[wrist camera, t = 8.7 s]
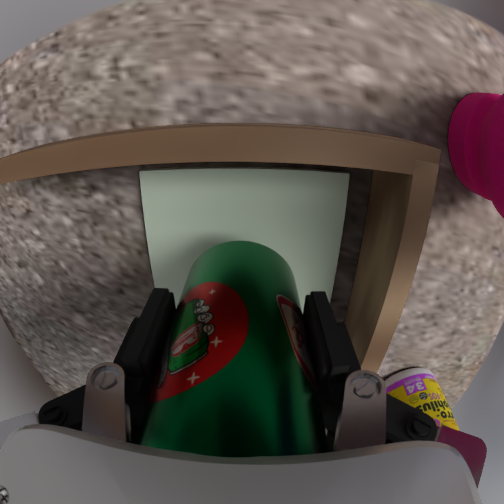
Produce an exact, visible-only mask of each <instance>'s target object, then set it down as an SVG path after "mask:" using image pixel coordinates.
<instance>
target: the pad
mask: <svg viewBox="0 0 504 504" xmlns="http://www.w3.org/2000/svg"><path fill="white" fill-rule="evenodd" d="M139 173H140V184H141V195H142V204H143V213H144V221H145V229H146V236H147V243H148V250H149V256H150V263H151V269H152V275H153V280H154V286H155V288H168V289H169V292H173V294H174V299H175V306H176V308H177V305H178V303H179V300H180V297H181V294H182V291H183V288H184V286H185V283H186V280H187V277H188V274H189V272H190V269H191V267H192V265H193V264H194V262H195V261H196V260H197V258H198V257H199V256H200V255H201V254H203V253H204V252H205V251H206V250H208V249H210V248H211V247H213V246H216V245H218V244H221V243H225V242H229V241H251V242H255V243H259V244H262V245H264V246H267V247H269V248H271V249H272V250H274V251H276V252H277V253H278V254H279V255H281V256H282V257H283V258H284V259H285V261H286V262H287V263H288V265H289V266H290V268H291V270H292V272H293V275H294V278H295V282H296V287H297V291H298V296H299V300H300V305H301V309H302V314H303V310H304V303H305V296H306V295H310V293H311V291H325V292H326V295H327V298H328V300H329V303H330V300H331V295H332V290H333V285H334V280H335V274H336V268H337V263H338V257H339V251H340V245H341V238H342V232H343V225H344V218H345V210H346V202H347V194H348V186H349V176H350V174H349V173H348V172H344V171H332V170H318V169H301V168H279V167H179V168H157V169H143V170H141V171H139Z"/></svg>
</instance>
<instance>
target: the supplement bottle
mask: <svg viewBox="0 0 504 504" xmlns="http://www.w3.org/2000/svg"><path fill="white" fill-rule="evenodd" d="M384 382H385V385H386V393H387V394H389V395H391V396H393V397H395V398H397V399H399V400H401V401H403V402H404V403H406V404H408V405H410V406H412V407H414V408H416V409H418V410H420V411H422V412H424V413H426V414H428V415H429V416H431V417H432V418H433V419H434V421H435V422H436V425H437V426H438V427H441V426H442V425H444V426H447V427H450V428H452V429H455V430H458V431H459V428H458V426H457V424H456V421H455V419H454V417H453V414H452V412H451V410H450V408H449V405H448V403H447V401H446V399H445V397H444V395H443V393H442V391H441V388H440V386H439V384H438V382H437V380H436V378H435V377H434V375H433V373H432V372H431V371H430V370H428V369H426V368H411V369H407V370H404V371H401V372H398V373H396V374H394V375H392V376H391V377H389V378H387V379H386V380H385V381H384Z"/></svg>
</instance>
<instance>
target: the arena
mask: <svg viewBox="0 0 504 504" xmlns="http://www.w3.org/2000/svg"><path fill="white" fill-rule="evenodd" d="M440 155H441V149H438V148H435V147H432V146H428V145H425V144H421V143H418V142H414V141H410V140H407V139H403V138H399V137H394V136H388V135H382V134H376V133H369V132H362V131H355V130H347V129H338V128H329V127H318V126H306V125H291V124H270V123H204V124H183V125H168V126H156V127H146V128H137V129H128V130H120V131H113V132H106V133H100V134H94V135H88V136H82V137H77V138H72V139H67V140H62V141H57V142H53V143H48V144H44V145H40V146H37V147H33V148H30V149H27V150H24V151H21V152H17V153H15V154H12V155H9V156H6V157H3V158H0V184H3V183H8V182H13V181H18V180H23V179H29V178H35V177H40V176H47V175H53V174H60V173H67V172H74V171H82V170H90V169H99V168H109V167H119V166H131V165H145V164H161V163H183V162H278V163H300V164H316V165H330V166H342V167H353V168H363V169H372V170H373V172H372V181H371V188H370V195H369V202H368V209H367V215H366V222H365V227H364V233H363V239H362V244H361V249H360V255H359V260H358V264H357V269H356V274H355V279H354V283H353V287H352V292H351V296H350V300H349V304H348V308H347V312H346V316H345V320H344V323H345V325H346V327H347V330H348V333H349V336H350V338H351V341H352V344H353V347H354V349H355V352H356V355H357V358H358V361H359V364H360V367H361V370H369V371H373V372H375V373H377V371H378V369H379V367H380V365H381V362H382V360H383V358H384V356H385V353H386V351H387V349H388V346H389V344H390V342H391V339H392V337H393V334H394V332H395V329H396V327H397V324H398V322H399V319H400V316H401V313H402V311H403V308H404V305H405V302H406V299H407V297H408V294H409V291H410V288H411V284H412V281H413V278H414V275H415V272H416V268H417V265H418V261H419V258H420V254H421V251H422V247H423V243H424V239H425V235H426V231H427V227H428V222H429V218H430V213H431V209H432V204H433V199H434V193H435V188H436V182H437V176H438V169H439V162H440Z"/></svg>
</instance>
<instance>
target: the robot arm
mask: <svg viewBox="0 0 504 504" xmlns="http://www.w3.org/2000/svg"><path fill="white" fill-rule="evenodd" d="M175 311H176V306H175V299H174V294H173V292H169V289H168V288H154V289H153V291H152V293H151V295H150V297H149V299H148V301H147V303H146V306H145V308H144V310H143V312H142V314H141V316H140V318H135V319H134V320H133V321H132V323H131V325H130V328H129V330H128V332H127V334H126V336H125V338H124V340H123V342H122V344H121V346H120V349H119V351H118V353H117V355H116V357H115V360H114V362H113V363H112V362H105V363H100V364H98V365H96V366H95V367H93V368H92V369H91V370H90V372H89V373H88V376H87V380H86V385H84V386H82V387H79V388H77V389H75V390H73V391H71V392H69V393H66V394H64V395H62V396H60V397H58V398H55V399H53V400H51V401H49V402H47V403H45V404H44V405H43V406H42V407H41V409H40V411H39V413H36V412H35V411H33V412H30V413H27V414H24V415H21V416H18V417H15V418H11V419H8V420H5V421H2V422H0V504H482V503H481V499H480V496H479V493H478V490H477V488H478V484H479V481H480V477H481V473H482V470H483V466H484V462H485V458H486V452H487V450H486V449H487V448H486V445H485V443H484V442H483V440H482V439H479V438H478V437H475V436H472V435H469V434H466V433H464V432H461V431H458V430H455V429H452V428H450V427H447V426H444V425H442V426H441V427H438V426H437V425H436V422H435V421H434V419H433V418H432V417H431V416H429V415H428V414H426V413H424V412H422V411H420V410H418V409H416V408H414V407H412V406H410V405H408V404H406V403H404V402H403V401H401V400H399V399H397V398H395V397H393V396H391V395H389V394H387V393H386V385H385V382H384V380H383V378H382V377H380V376H379V375H378V374H377V373H375V372H373V371H369V370H361V367H360V364H359V361H358V358H357V355H356V352H355V349H354V347H353V344H352V341H351V338H350V336H349V333H348V330H347V327H346V325H345V323H343V322H342V323H336V320H335V318H334V315H333V312H332V309H331V306H330V303H329V300H328V298H327V295H326V292H325V291H311V293H310V295H306V296H305V303H304V310H303V318H304V323H305V328H306V333H307V337H308V342H309V347H310V352H311V357H312V362H313V367H314V372H315V377H316V382H317V388H318V393H319V398H320V404H321V409H322V415H323V420H324V426H325V429H326V431H325V432H326V437H327V443H328V449H329V452H328V453H319V454H307V455H292V456H259V457H216V456H206V455H199V454H194V453H189V452H180V451H173V450H166V449H159V448H153V447H147V446H142V445H137V444H135V442H136V439H137V435H138V431H139V428H140V424H141V420H142V417H143V413H144V410H145V406H146V403H147V399H148V396H149V392H150V389H151V386H152V382H153V379H154V376H155V373H156V369H157V366H158V363H159V360H160V357H161V353H162V350H163V347H164V344H165V341H166V338H167V335H168V332H169V329H170V326H171V323H172V320H173V317H174V314H175Z"/></svg>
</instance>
